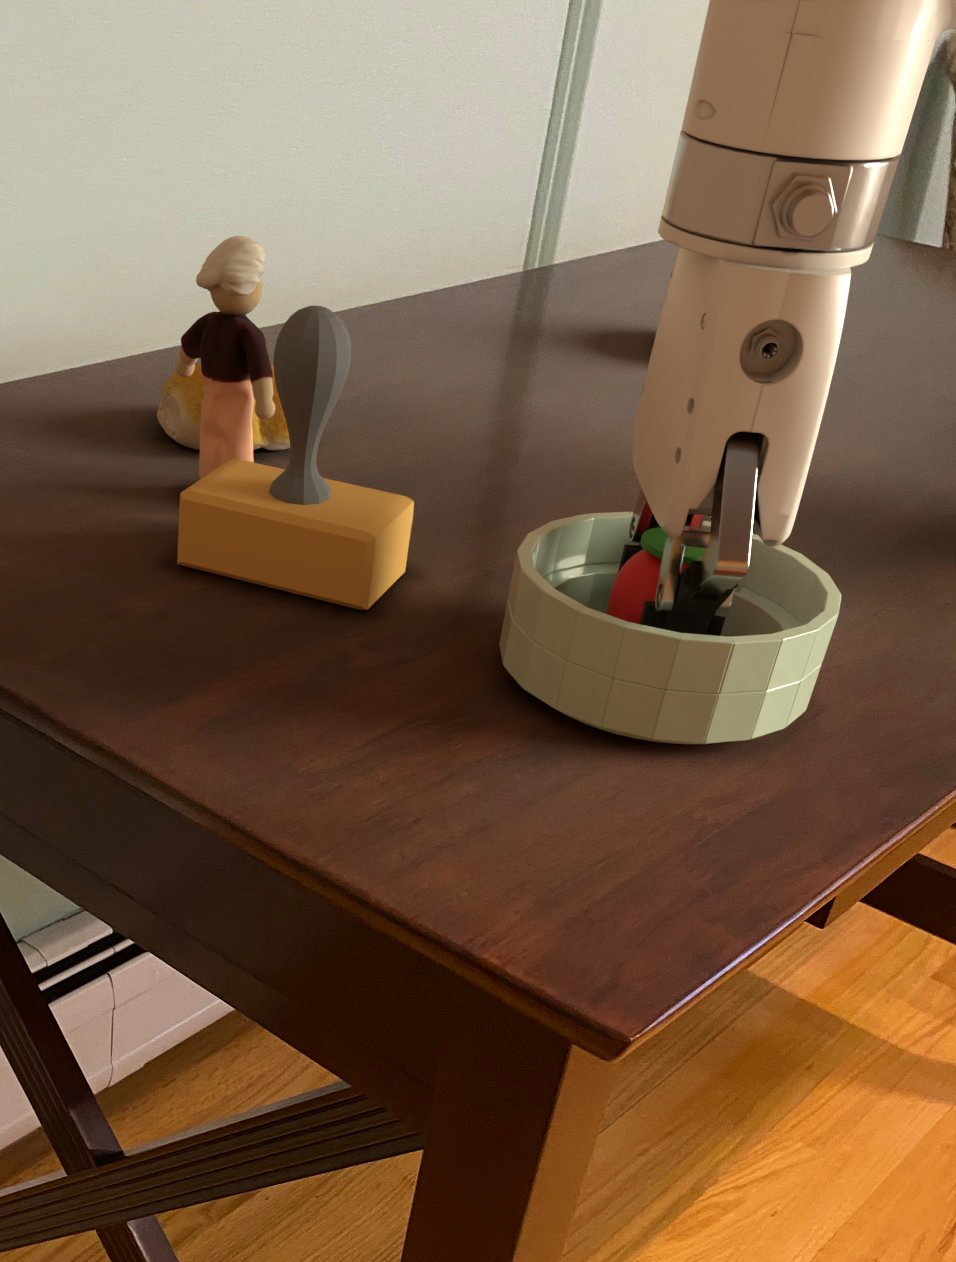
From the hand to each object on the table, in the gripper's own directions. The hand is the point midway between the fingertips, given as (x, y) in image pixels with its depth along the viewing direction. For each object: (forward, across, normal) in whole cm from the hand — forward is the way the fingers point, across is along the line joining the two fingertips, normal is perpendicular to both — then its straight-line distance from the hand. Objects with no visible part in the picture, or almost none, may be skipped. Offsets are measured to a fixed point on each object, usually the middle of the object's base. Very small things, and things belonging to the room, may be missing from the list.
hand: (651, 660), depth 65 cm
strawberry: (0, 0, 0) cm, 0 cm away
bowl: (+1, 0, 0) cm, 1 cm away
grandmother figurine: (+1, +18, +20) cm, 27 cm away
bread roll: (+1, +28, +20) cm, 34 cm away
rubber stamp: (+1, +9, +16) cm, 18 cm away
